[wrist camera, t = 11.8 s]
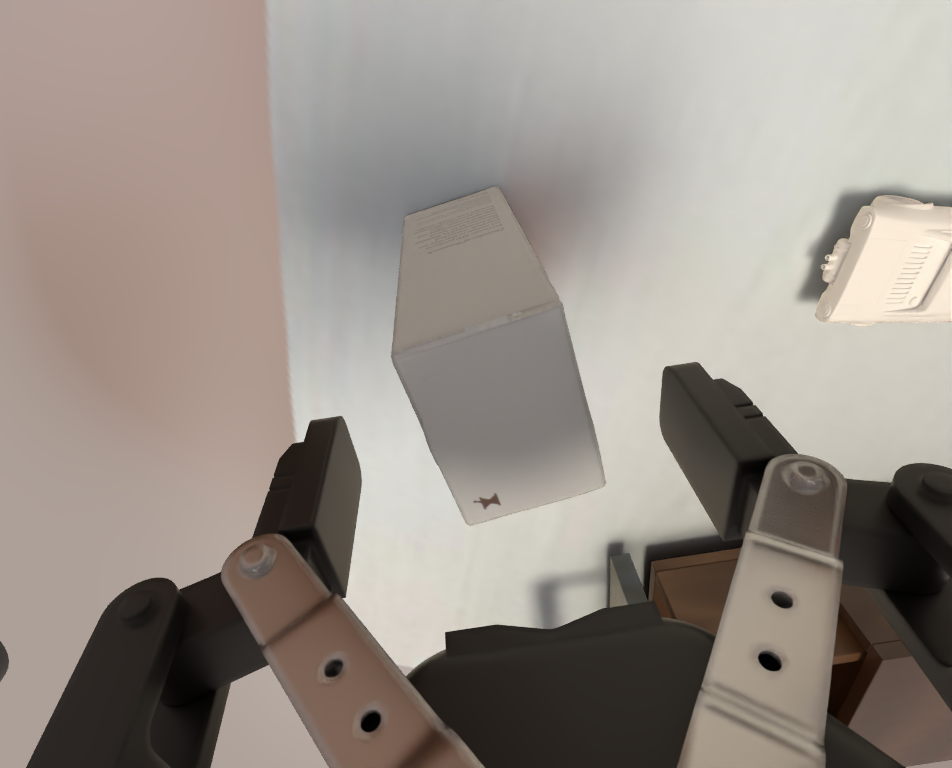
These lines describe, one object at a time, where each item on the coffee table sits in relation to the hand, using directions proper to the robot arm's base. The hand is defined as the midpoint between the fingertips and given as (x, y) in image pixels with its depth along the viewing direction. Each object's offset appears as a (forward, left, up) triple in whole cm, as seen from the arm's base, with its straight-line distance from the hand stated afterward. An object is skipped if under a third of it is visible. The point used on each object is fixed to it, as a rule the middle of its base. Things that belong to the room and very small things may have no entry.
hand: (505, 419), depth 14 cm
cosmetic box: (0, 0, -12) cm, 12 cm away
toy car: (+21, -3, -12) cm, 24 cm away
